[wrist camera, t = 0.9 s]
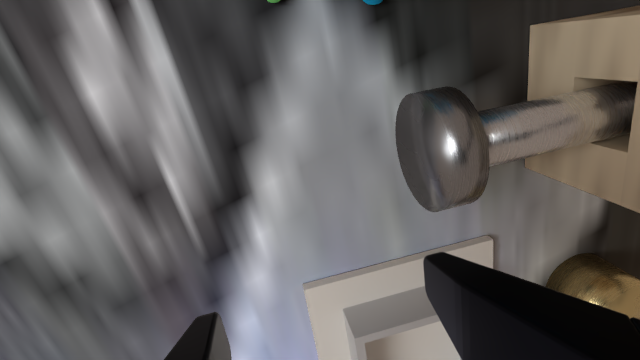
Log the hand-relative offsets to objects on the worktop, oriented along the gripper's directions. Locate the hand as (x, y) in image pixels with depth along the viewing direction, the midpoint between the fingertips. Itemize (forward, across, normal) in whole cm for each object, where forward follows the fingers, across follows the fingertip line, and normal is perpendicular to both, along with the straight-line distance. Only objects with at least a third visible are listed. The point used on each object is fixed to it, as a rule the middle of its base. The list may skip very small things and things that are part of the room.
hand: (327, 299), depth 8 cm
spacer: (+12, -19, +14) cm, 27 cm away
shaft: (+10, -12, 0) cm, 16 cm away
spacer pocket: (+12, -6, +14) cm, 19 cm away
